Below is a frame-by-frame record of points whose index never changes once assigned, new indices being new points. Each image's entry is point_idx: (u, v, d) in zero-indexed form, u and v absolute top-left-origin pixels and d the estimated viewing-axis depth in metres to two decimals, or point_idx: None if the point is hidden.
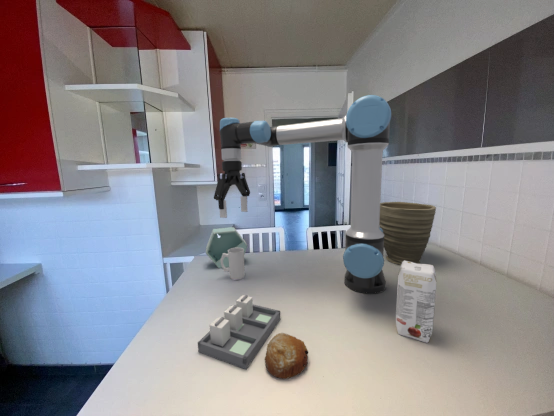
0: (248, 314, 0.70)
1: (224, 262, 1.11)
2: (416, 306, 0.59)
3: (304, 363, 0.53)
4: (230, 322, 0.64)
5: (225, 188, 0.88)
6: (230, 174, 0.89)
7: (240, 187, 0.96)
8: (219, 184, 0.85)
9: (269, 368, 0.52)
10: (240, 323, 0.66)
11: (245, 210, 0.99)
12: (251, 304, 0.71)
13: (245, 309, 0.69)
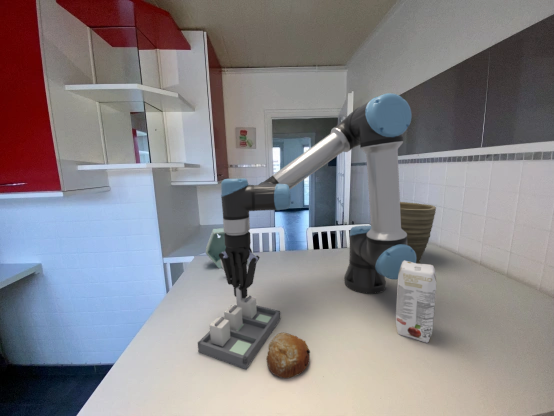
0: (252, 315, 0.69)
1: None
2: (416, 306, 0.59)
3: (306, 362, 0.53)
4: (230, 322, 0.64)
5: None
6: (227, 248, 0.69)
7: None
8: None
9: (271, 367, 0.52)
10: (240, 323, 0.66)
11: None
12: (255, 305, 0.71)
13: (249, 310, 0.69)
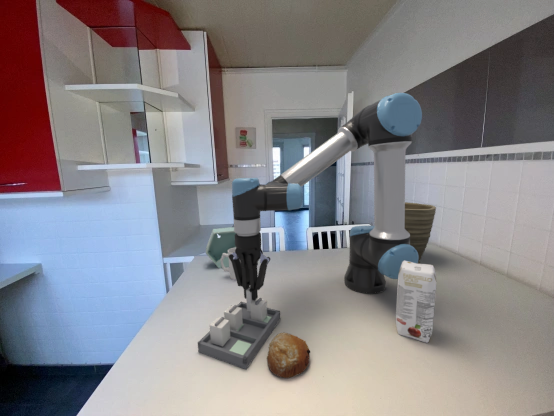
0: (262, 318, 0.68)
1: (224, 262, 1.11)
2: (416, 306, 0.59)
3: (306, 362, 0.53)
4: (230, 322, 0.64)
5: None
6: (237, 249, 0.68)
7: None
8: None
9: (271, 367, 0.52)
10: (240, 323, 0.66)
11: None
12: (265, 307, 0.69)
13: (260, 313, 0.67)
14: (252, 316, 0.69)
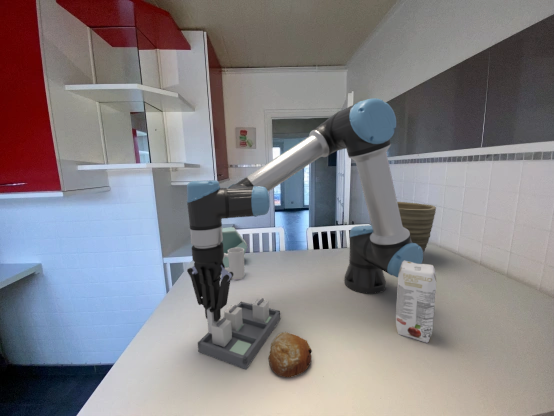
0: (265, 318, 0.68)
1: (224, 262, 1.11)
2: (416, 306, 0.59)
3: (308, 362, 0.53)
4: None
5: None
6: (196, 263, 0.59)
7: None
8: None
9: (273, 367, 0.52)
10: (240, 323, 0.66)
11: None
12: (267, 308, 0.69)
13: (262, 313, 0.67)
14: (254, 317, 0.68)
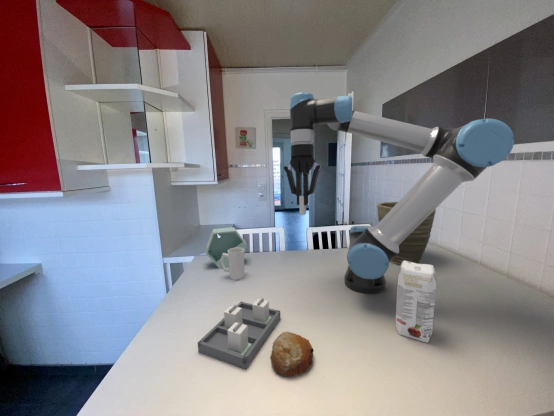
0: (265, 318, 0.68)
1: (224, 262, 1.11)
2: (416, 306, 0.59)
3: (310, 361, 0.53)
4: (230, 322, 0.64)
5: None
6: (292, 160, 0.79)
7: None
8: None
9: (275, 366, 0.52)
10: None
11: None
12: (267, 308, 0.69)
13: (262, 313, 0.67)
14: (254, 317, 0.68)
